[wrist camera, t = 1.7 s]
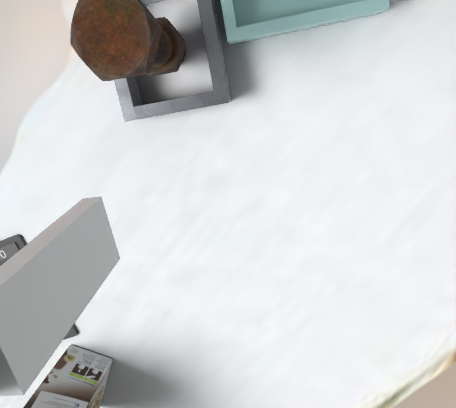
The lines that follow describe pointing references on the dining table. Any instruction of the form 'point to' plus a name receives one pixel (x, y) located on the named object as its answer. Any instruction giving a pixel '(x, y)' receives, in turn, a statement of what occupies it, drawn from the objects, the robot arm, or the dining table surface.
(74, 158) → the dining table surface
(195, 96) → the square frame
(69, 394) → the coffee box
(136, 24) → the bolt
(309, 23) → the tray
